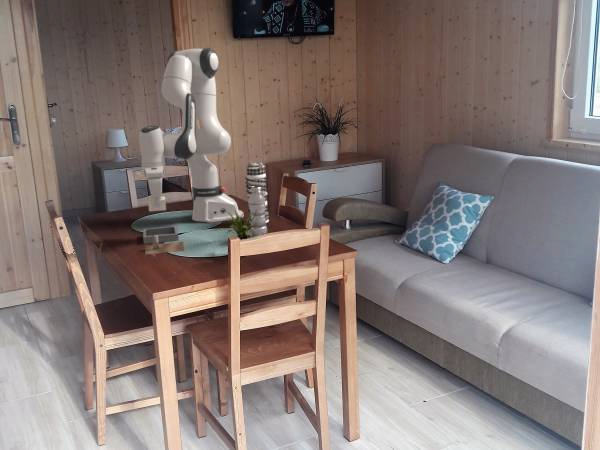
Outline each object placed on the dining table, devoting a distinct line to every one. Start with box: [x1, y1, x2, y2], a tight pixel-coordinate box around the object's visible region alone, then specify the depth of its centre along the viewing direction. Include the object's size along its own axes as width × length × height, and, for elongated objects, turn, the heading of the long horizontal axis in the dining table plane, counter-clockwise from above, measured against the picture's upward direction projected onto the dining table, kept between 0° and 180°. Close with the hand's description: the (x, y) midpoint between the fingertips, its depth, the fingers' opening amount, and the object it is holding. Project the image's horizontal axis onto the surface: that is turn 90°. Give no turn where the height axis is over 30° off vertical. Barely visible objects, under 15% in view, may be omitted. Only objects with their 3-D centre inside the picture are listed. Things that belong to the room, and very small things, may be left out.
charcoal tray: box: [142, 225, 180, 245], centre depth 261 cm, size 13×13×4 cm
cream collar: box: [147, 196, 167, 212], centre depth 258 cm, size 6×6×4 cm
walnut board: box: [144, 235, 185, 256], centre depth 247 cm, size 14×12×6 cm
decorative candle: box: [244, 161, 270, 224], centre depth 280 cm, size 9×9×25 cm
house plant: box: [222, 211, 258, 240], centre depth 237 cm, size 14×14×16 cm
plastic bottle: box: [247, 186, 268, 238], centre depth 256 cm, size 6×7×20 cm
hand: (157, 204), depth 258 cm, fingers closed on cream collar, 6 cm apart
